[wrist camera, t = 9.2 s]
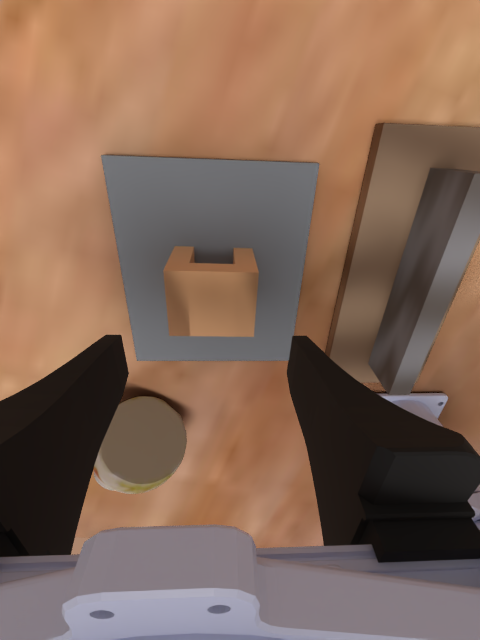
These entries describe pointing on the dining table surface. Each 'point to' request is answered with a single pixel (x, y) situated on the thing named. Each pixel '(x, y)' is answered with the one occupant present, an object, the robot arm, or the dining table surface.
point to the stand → (406, 251)
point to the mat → (211, 243)
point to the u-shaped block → (211, 294)
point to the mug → (140, 446)
